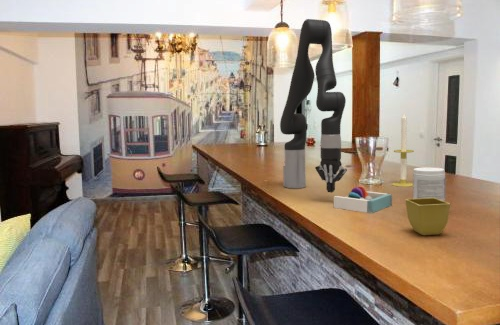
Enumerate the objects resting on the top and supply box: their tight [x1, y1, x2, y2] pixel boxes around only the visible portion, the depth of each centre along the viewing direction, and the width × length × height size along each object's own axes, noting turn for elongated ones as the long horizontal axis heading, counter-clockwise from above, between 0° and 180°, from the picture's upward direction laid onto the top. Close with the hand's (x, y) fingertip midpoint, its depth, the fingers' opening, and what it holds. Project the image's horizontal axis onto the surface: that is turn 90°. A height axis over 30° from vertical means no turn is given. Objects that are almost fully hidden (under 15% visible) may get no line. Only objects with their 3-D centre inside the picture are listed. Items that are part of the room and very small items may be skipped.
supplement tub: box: [412, 167, 446, 202], centre depth 139 cm, size 10×10×15 cm
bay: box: [333, 190, 393, 214], centre depth 153 cm, size 14×15×4 cm
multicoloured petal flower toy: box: [345, 186, 372, 200], centre depth 153 cm, size 8×10×7 cm
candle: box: [391, 113, 415, 188], centre depth 191 cm, size 10×10×32 cm
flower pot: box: [405, 198, 451, 236], centre depth 119 cm, size 9×9×9 cm
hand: (330, 192), depth 162 cm, fingers closed
